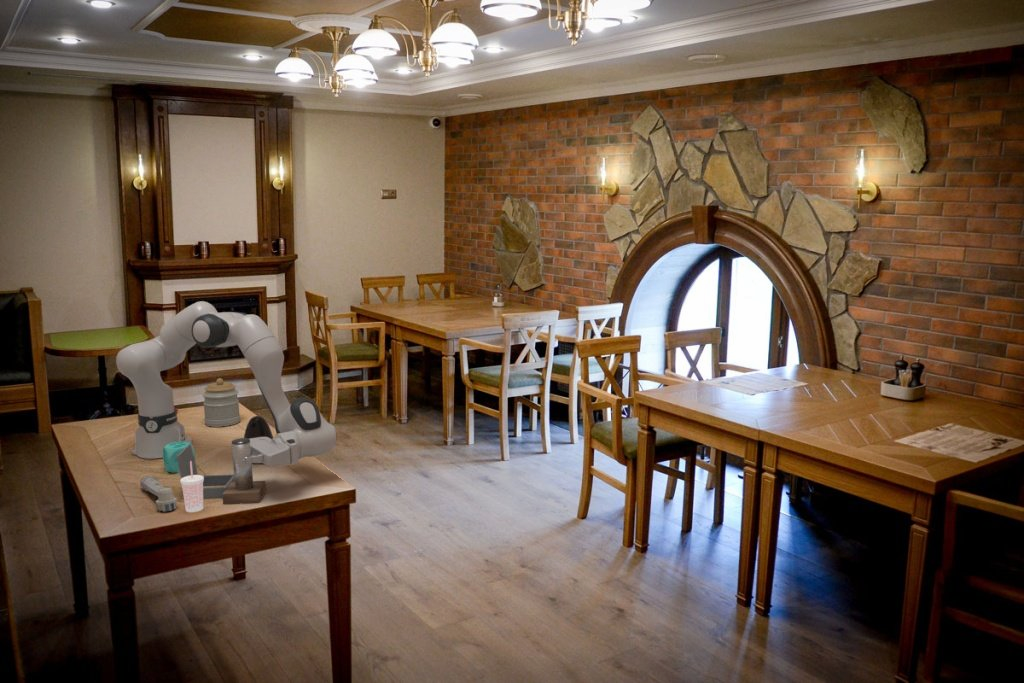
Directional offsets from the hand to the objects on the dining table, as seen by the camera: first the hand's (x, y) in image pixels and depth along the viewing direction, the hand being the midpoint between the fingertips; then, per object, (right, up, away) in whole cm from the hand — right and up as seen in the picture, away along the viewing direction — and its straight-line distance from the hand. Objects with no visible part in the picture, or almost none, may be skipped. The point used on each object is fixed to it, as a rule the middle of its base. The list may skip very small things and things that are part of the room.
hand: (239, 456), depth 236 cm
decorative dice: (-28, -8, +28) cm, 41 cm away
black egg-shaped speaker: (-5, -6, +36) cm, 37 cm away
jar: (-33, +1, +81) cm, 88 cm away
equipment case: (-11, -11, +8) cm, 17 cm away
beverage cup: (-10, -14, -6) cm, 19 cm away
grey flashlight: (-24, -13, +2) cm, 27 cm away
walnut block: (+1, -12, +3) cm, 13 cm away
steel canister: (+1, -9, +2) cm, 9 cm away
